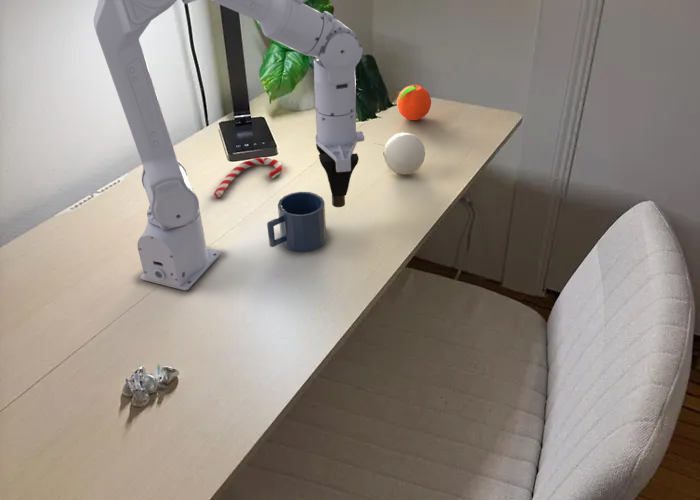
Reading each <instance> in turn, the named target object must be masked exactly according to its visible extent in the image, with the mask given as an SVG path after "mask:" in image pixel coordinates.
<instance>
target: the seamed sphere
mask: <svg viewBox="0 0 700 500" xmlns="http://www.w3.org/2000/svg"><path fill="white" fill-rule="evenodd" d="M373 144H374V145H376V142H375V143H373ZM377 145H379V146H381V144H380V143H377ZM382 146H384V149H383V158H384V162H385V164H386V166H387V167H388V168H389V169H390V171H392V172H393V173H396V174H399V175H411V174H413V173H415V172H416V171H418V170H419V169H420V168H421V166H423V164H424V161H425V159H426V148H425V145H424V143H423V142H422V139H420V138H419V137H418V136H417V135H416V134H414V133H409V132H401V133H396V134H395V135H393V136H392V137H391V138H389V139H388V141H387V142H386V144H382Z"/></svg>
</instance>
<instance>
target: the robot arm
mask: <svg viewBox="0 0 700 500" xmlns="http://www.w3.org/2000/svg"><path fill="white" fill-rule="evenodd" d="M177 1H178V0H97V4H96V8H95V11H94V15H93V26H94V27H93V28H94V31H95V33H96V36H97V39H98V42H99V45H100V48H101V50H102V53H103V56H104V59H105V62H106V65H107V68H108V71H109V73H110V76H111V78H112V82H113V85H114V87H115V91H116V93H117V96H118V99H119V102H120V104H121V107H122V110H123V113H124V116H125V118H126V121H127V125H128V127H129V130H130V133H131V135H132V138H133V141H134V145H135V147H136V150H137V153H138V155H139V158H140V161H141V165H142V173H141V184H142V186H143V188H144V190H145V193H146V197H147V200H148V203H149V206H148V210H147V211H146V217H147V222H146V223H147V224H146V226H145V230H144V232H143V233H142V235H141V236H140V237H139V238H138V239H137V245H136V246H137V251H138V255H139V259H140V263H141V267H142V271H143V272H142V273H141V275H140V279H141V280H142V281H146V282H150V283H154V284H157V285H162V286H166V287H170V288H173V289H178V290H182V291H189V289H191V287H192V286H193V285H194V284H195V283H196V282H197V281H198V280H199V279H200V277H201V276H202V275H204V273H205V272H206V271H207V270H208V269H209V268H210V267H211V265H213V263H215V261H216V260H217V259H218V258H219V257H220V256H221V252H220V251H218V250H215V249H210V248H208V247H207V242H206V237H205V231H204V226H203V220H202V215H201V209H200V201H199V198H198V196H197V194H196V193H195V191H194V189H193V187H192V184H191V182H190V180H189V178H188V173H187V169H186V168H185V166H184V164H182V162H180V161H179V160H178V158H177V155H176V152H175V147H174V145H173V142H172V139H171V136H170V132H169V129H168V127H167V123H166V121H165V120H166V119H165V117H164V114H163V111H162V107H161V103H160V101H159V99H158V94H157V92H156V88H155V85H154V81H153V78H152V75H151V72H150V69H149V66H148V62H147V59H146V57H145V53H144V50H143V47H142V44H141V39H140V38H141V36H142V35H143V34H144V32H145V31H146V29H147V28H148V26H149V25H150V24H151V22H152V21H153V20H154V19H156V18H158V17H159V16H161V15H162V14H163V13H164V12H166V11H167V10H168V9H170V8H171V7H173V5H174V4H176V3H177ZM196 1H197V0H181V2H182V3H183V4H186V5H187V4H190V3H193V2H196ZM210 1H211V2H213V3H216V4H218V5H220V6H223V7H224V8H227V9H229V10H231V11H233V12H236V13H238V14H241V15H242V16H245V17H248V18H250V19H251V20H254V21H256V22H258V23H259V25H260V28H261V31H262V34H263V36H264V37H266V38H268V39H271V40H272V41H274V42H277V43H279V44H281V45H283V46H285V47H287V48H289V49H291V50H293V51H295V52H298V53H300V54H302V55H304V56H307V57H315V58H313V75H314V76H313V85H314V87H313V88H314V106H315V121H316V122H315V126H316V128H315V129H316V133H315V134H316V135H315V146H316V150H317V152H318V153H319V154H318V159H319V162H320V164H321V166H322V168H323V169H324V171H325V173H326V176H327V181H328V184H329V188H330V189H329V190H330V193H331V196H332V195H333V197H336V196H345V197H346V196H347V193H348V191H349V186H350V182H351V181H350V180H351V177H352V174H353V172H354V170H355V168H356V167H357V165H358V163H359V154H358V153H356V152H355V153H354V151H355V148H356V146H357V144H358V143H360V142H364V141H365V134H364V132H363V131H361V130H357V99H356V98H357V95H356V94H357V93H356V89H357V88H356V85H357V83H356V68H357V65H358V64H359V63H360V61H361V59H362V56H363V52H364V51H363V50H364V48H363V47H362V46H361V42H360V38H358V35H357V34H356V33H355V32H354V31H353V30H352V29H351V28H349V27H348V26H346V24H344V23H343V22H341V21H340V20H338V19H336V17H335V16H334V14H332V13H331V12H329V11H326V10H324V11H323V13H322V12H321V11H320V10H319V11H318V10H317V9H315V8H313V7H311V6H309V5H307V4H305V3H303V2H304V0H210Z"/></svg>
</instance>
